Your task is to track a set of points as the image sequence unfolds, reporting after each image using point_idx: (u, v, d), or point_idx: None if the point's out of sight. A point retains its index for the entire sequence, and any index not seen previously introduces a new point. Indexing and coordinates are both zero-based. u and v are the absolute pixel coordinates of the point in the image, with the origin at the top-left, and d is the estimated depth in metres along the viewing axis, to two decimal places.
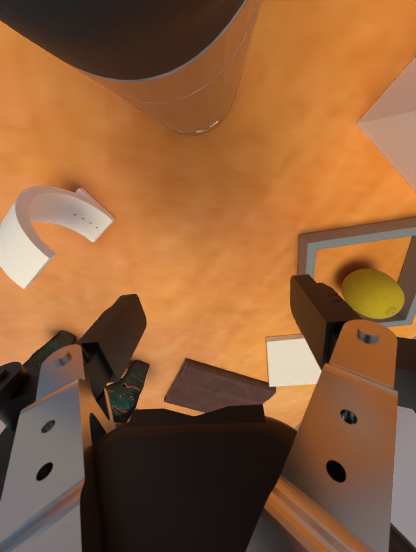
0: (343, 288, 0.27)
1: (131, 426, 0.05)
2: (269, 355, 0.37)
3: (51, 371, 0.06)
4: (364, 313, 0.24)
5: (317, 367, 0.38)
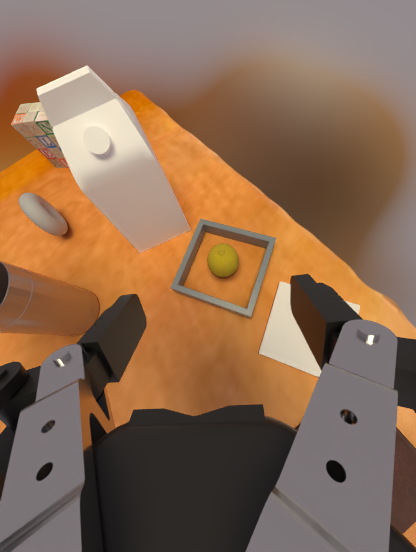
0: (216, 275, 0.36)
1: (131, 426, 0.05)
2: (281, 360, 0.33)
3: (51, 371, 0.06)
4: (224, 267, 0.33)
5: None
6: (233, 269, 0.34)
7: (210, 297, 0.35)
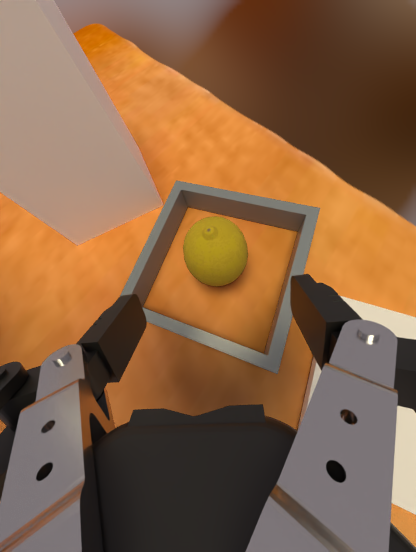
0: None
1: (132, 426, 0.05)
2: None
3: (51, 371, 0.06)
4: (217, 265, 0.15)
5: None
6: (237, 270, 0.16)
7: (190, 328, 0.17)
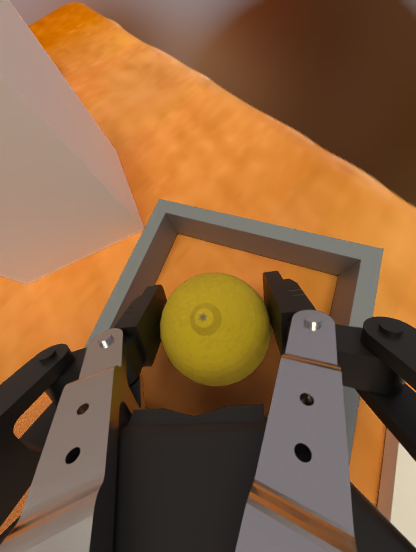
0: None
1: (132, 426, 0.05)
2: None
3: (95, 351, 0.07)
4: (219, 377, 0.08)
5: None
6: (254, 369, 0.09)
7: None
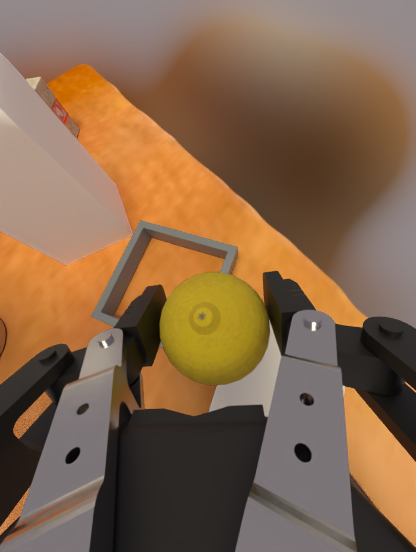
0: None
1: (132, 426, 0.05)
2: None
3: (95, 351, 0.07)
4: (218, 376, 0.08)
5: None
6: (253, 369, 0.09)
7: None
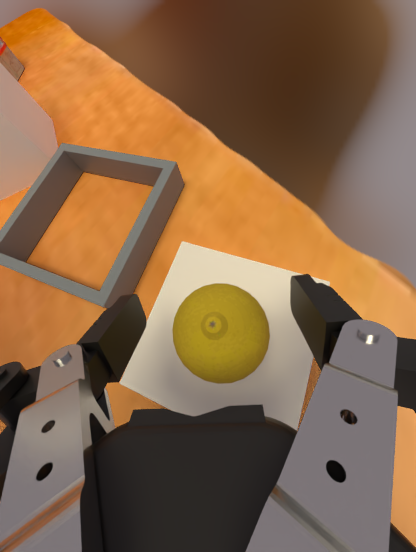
0: None
1: (131, 426, 0.05)
2: (159, 398, 0.15)
3: (51, 371, 0.06)
4: (225, 375, 0.09)
5: None
6: (255, 369, 0.11)
7: (41, 271, 0.18)
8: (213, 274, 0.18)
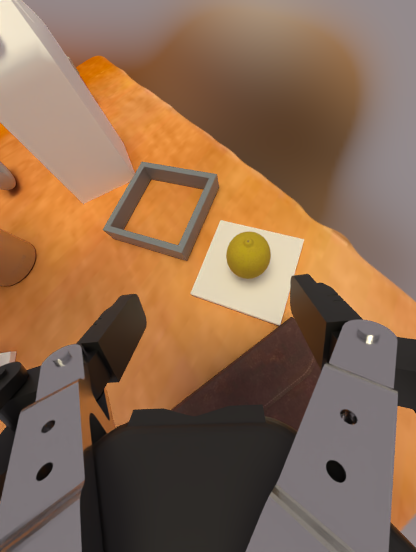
0: (239, 276, 0.26)
1: (132, 426, 0.05)
2: (213, 299, 0.29)
3: (51, 371, 0.06)
4: (252, 264, 0.23)
5: None
6: (264, 267, 0.24)
7: (141, 236, 0.32)
8: None
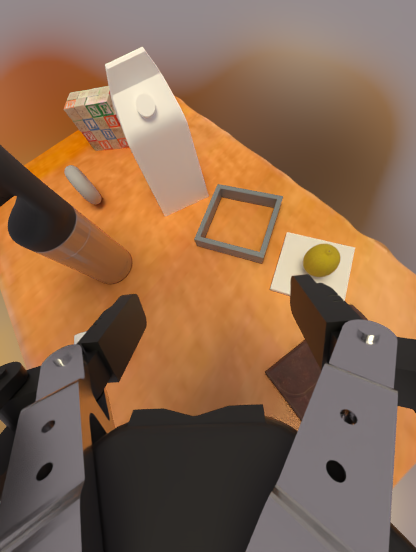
0: (313, 275, 0.36)
1: (132, 426, 0.05)
2: (289, 292, 0.39)
3: (51, 371, 0.06)
4: (330, 266, 0.33)
5: None
6: (335, 269, 0.34)
7: (228, 245, 0.42)
8: (304, 245, 0.42)
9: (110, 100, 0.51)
